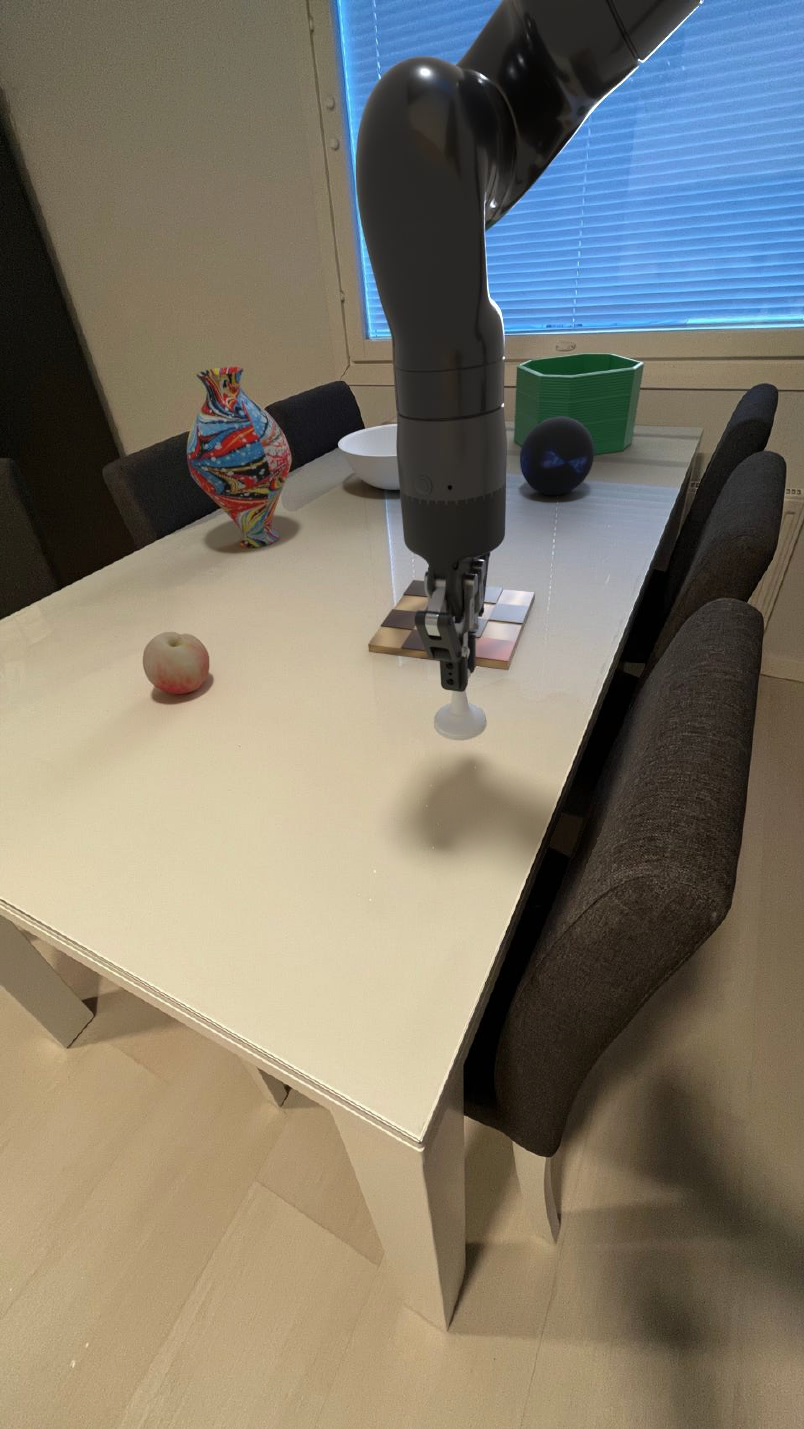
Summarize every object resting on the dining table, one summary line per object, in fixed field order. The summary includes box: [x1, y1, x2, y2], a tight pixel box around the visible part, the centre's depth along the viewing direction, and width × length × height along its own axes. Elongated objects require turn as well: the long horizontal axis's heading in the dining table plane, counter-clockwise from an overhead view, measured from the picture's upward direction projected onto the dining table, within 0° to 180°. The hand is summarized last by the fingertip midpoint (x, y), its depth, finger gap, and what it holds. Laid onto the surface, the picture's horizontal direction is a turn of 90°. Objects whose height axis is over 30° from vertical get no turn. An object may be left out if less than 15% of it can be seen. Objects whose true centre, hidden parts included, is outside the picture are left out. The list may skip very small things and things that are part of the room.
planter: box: [513, 352, 645, 456], centre depth 152 cm, size 26×26×18 cm
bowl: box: [337, 423, 400, 491], centre depth 140 cm, size 27×27×10 cm
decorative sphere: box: [519, 417, 595, 496], centre depth 125 cm, size 15×15×15 cm
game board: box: [367, 579, 536, 670], centre depth 89 cm, size 20×20×1 cm
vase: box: [186, 366, 292, 548], centre depth 113 cm, size 19×19×30 cm
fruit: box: [142, 631, 211, 695], centre depth 80 cm, size 8×8×8 cm
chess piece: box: [433, 633, 488, 741], centre depth 53 cm, size 5×5×10 cm
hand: (458, 678), depth 53 cm, fingers closed on chess piece
